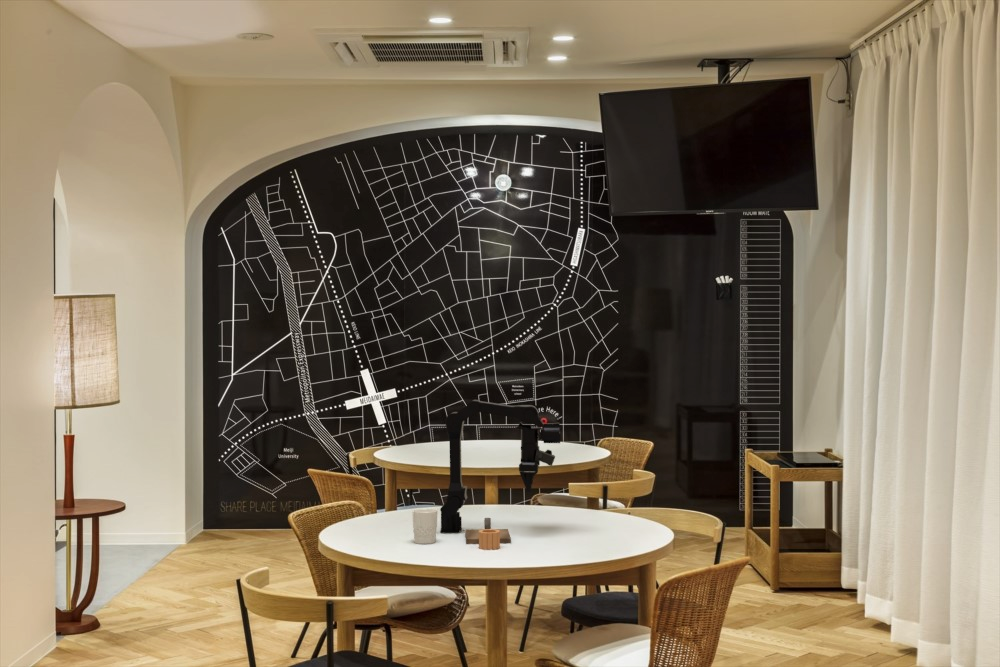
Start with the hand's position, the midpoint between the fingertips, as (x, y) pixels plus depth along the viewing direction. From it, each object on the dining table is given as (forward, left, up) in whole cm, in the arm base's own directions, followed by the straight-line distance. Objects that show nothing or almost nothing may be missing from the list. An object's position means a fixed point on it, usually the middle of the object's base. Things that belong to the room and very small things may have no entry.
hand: (529, 489), depth 322 cm
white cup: (-34, -14, -14) cm, 40 cm away
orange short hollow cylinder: (-14, -24, -14) cm, 31 cm away
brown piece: (-14, -10, -14) cm, 22 cm away
